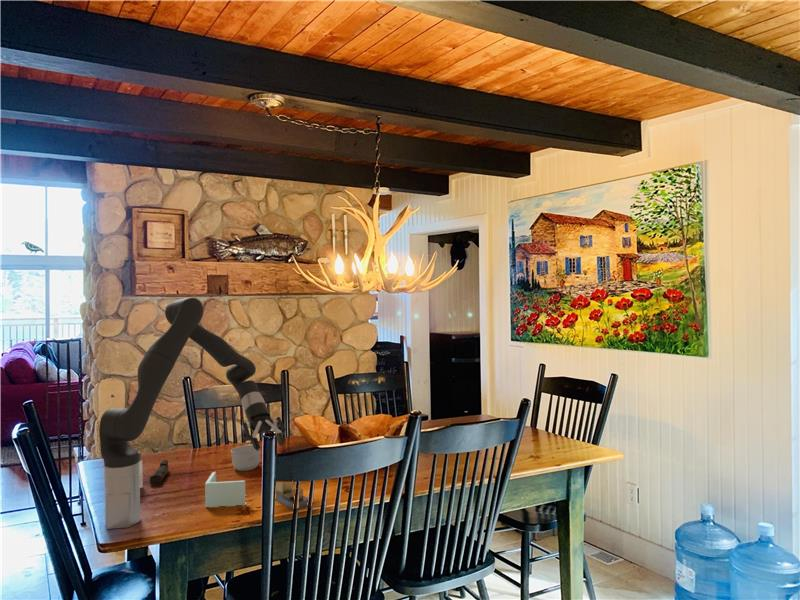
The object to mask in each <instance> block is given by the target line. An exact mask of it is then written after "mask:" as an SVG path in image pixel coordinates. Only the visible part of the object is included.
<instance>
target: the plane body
mask: <svg viewBox="0 0 800 600" xmlns="http://www.w3.org/2000/svg"><path fill="white" fill-rule="evenodd" d="M295 489H296V488H293V492H290V493H286V494H283V495H281V494H280V493H278V492H276V500H275V501H276V502H278V503H279V504H281V505H282V506H284V507H286V508H288V509H290V510H291V511H294V510H293V504H294V496H295ZM307 503H308V497H307V496H305V495H304V488H300V491H299V509H303V508H306V507H308V506H307Z"/></svg>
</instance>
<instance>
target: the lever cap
mask: <svg viewBox="0 0 800 600" xmlns="http://www.w3.org/2000/svg"><path fill="white" fill-rule="evenodd" d="M293 483H294V482H293V481H292V482H276V485H275V491H276V492H278V493H280V494H281V495H283V494H286V493H290V492H293V489H294V487H293V485H294V484H293Z"/></svg>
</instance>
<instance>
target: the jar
mask: <svg viewBox="0 0 800 600" xmlns="http://www.w3.org/2000/svg"><path fill="white" fill-rule="evenodd" d="M137 451H138V453H139V474H140V489H142V488H143V460H142V452H141V451H139V450H137Z"/></svg>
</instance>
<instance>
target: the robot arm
mask: <svg viewBox="0 0 800 600" xmlns="http://www.w3.org/2000/svg"><path fill="white" fill-rule="evenodd" d="M164 314H165V315H164V316H165V318H166V320H167V322H168V323H169V324H170V327H169V328H168V329H167V330H166V331H165V332H164V333H163V334H162V335H161V336H160V337H158V339H157V340H156V341H155V342H154V343H152V344H151V345H150V347H149V348H148V349H147V351H146V352H145V354H144V356H143V357H142V360H140V363H139V365H138V366H137V383H138V384H137V388H138V389H137V392H136V395H135V397H134V399H133V401H132V402H131V404H130V405H129V407H127V408H126V407H125V408H124V407H111V408H109V409H107V410H105V411H104V413H102V415H101V418H100V421H99V427H98V431H99V435H98V436H99V445H100V447H99V448H100V454H101V458H102V460H103V462H104V463H103V465H104V468H103V470H104V474H103V475H104V515H105V516H104V520H105V522H104V523H105V527H106V526H107V527H106V529H107V530H108V529H109V530H111V529H123V528H125V529H126V528H130V527H132V526H134V525H136V524H138V523H140V521H141V488H140V474H139V453H138V451H139V450H136V449H135V448H133V447H132V446H131V445H130V444H129V442H132V441H135V440H137V439H138V438H139V437H140V436H141V435H142V433H143V432H144V430H145V428H146V425H147V423H148V421H149V418H150V416H151V413H152V411H153V408H154V406H155V404H156V401H157V399H158V397H159V395H160V393H161V391H162V389H163V387H164V385H165V383H166V381H167V379H168V377H169V376H170V374H171V372H172V370H173V368H174V366H175V364H176V363H177V360H178V358H179V356H180V355H181V353H182V351H183V349H184V347H185V345H186V344H187V342H188V340H189V339H190V340H192V341H193V342H194V343H196V345H198V346H199V347H200V348H202V349H203V350H204V351H205V352H206V353H207V354H208V355H209V356H210V357H212V358H213V359H214V361H215V362H216V363H217V364H218V365H219V366H220V367H223V368H227V367H229V368H228V369H227V370H226V373H225V376H226V377H225V378H226V379H227V381H228V382H229V383H230V384H231V386H233V387H234V389H235V390H236V392H237V394H238V396H239V398H240V401H241V406H242V410H243V412H244V414H245V416H246V419H247V422H248V423H247V422H245V421H244V422H243V423H242V425H241V427H240V429H241V432H242V435H243V438H244V439H243V440H244V441H245V442H248V441H249V442H250V443H251V444H252V445H253V447H254V449H256V451H258V450H259V449H260V450H261V445H260V442H259V439H258V437H257V435H258V434H259V435H262V434H267V433H266V432H268V431H273V432H275V433H276V436H277V437H276V436H275V437H276V440H277V443H278V446H279V447H283V445H284V443H285V439H284V433H285V432H286V427H285V425H284V423H283V421H282V419H281V417H279V416H277V417H276V418H274V419H272V417H271V415H270V412H269V409H268V407H267V405H266V401H265V399H264V397H263V396H262V394H261V392H260V389H259V387H258V384H257V383H256V382H255V381H254V380H248V379H250V378H252V377H253V376H254V375H256V371H257V370H256V369H257V368H256V365H255V363H254V362H253V361H252V360H251V359H249V358H248V357H246V356H243V355H242V354H240V353H239V352H237V351H235V349H233V348H232V346H230V345H229V343H228V342H227V341H226V340H225V339H223V338H222V337H221V336H218V335H217V334H216V333H214V332H212V331H210V330H208V329H206V328H204V327H203V326H202V325H200V322H201V321H202V318H203V314H204V307H203V303H202V302H201V301H200V300H199V299H198V298H196V297H186V298H181V299H176V300H175V301H174V300H173V301H172V302H169V303H168V304H167V306H166V308H165V310H164ZM249 429H251V430H252V431H253V433H252V435H251V433H250V431H249ZM268 433H269V432H268Z"/></svg>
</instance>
